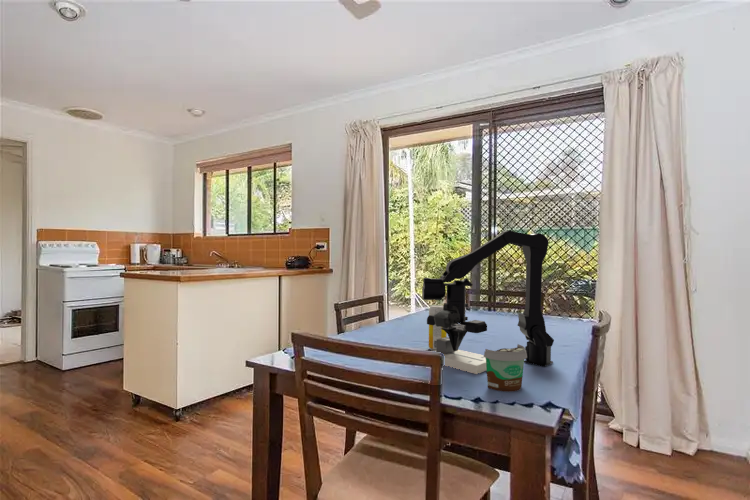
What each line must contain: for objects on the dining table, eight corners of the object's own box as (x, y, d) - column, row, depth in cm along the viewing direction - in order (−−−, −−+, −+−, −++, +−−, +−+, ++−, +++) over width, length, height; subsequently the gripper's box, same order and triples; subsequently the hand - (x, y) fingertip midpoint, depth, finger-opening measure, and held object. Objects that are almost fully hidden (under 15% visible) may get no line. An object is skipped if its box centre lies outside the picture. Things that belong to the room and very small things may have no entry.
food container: (501, 396, 96) (501, 355, 96) (483, 388, 102) (483, 349, 102) (537, 388, 102) (538, 349, 102) (518, 381, 108) (519, 343, 107)
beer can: (445, 347, 142) (446, 305, 142) (447, 352, 136) (447, 307, 136) (428, 347, 143) (428, 304, 143) (428, 351, 137) (429, 307, 137)
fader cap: (455, 351, 128) (455, 338, 128) (445, 354, 124) (445, 341, 124) (445, 349, 130) (446, 336, 130) (436, 352, 127) (436, 339, 127)
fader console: (496, 366, 121) (496, 358, 121) (476, 374, 113) (476, 365, 113) (447, 354, 134) (447, 346, 134) (426, 360, 126) (426, 352, 126)
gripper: (415, 299, 126) (415, 349, 126) (467, 306, 112) (466, 362, 112) (437, 296, 133) (437, 343, 134) (488, 302, 120) (487, 355, 120)
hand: (455, 350), depth 125 cm, fingers closed
